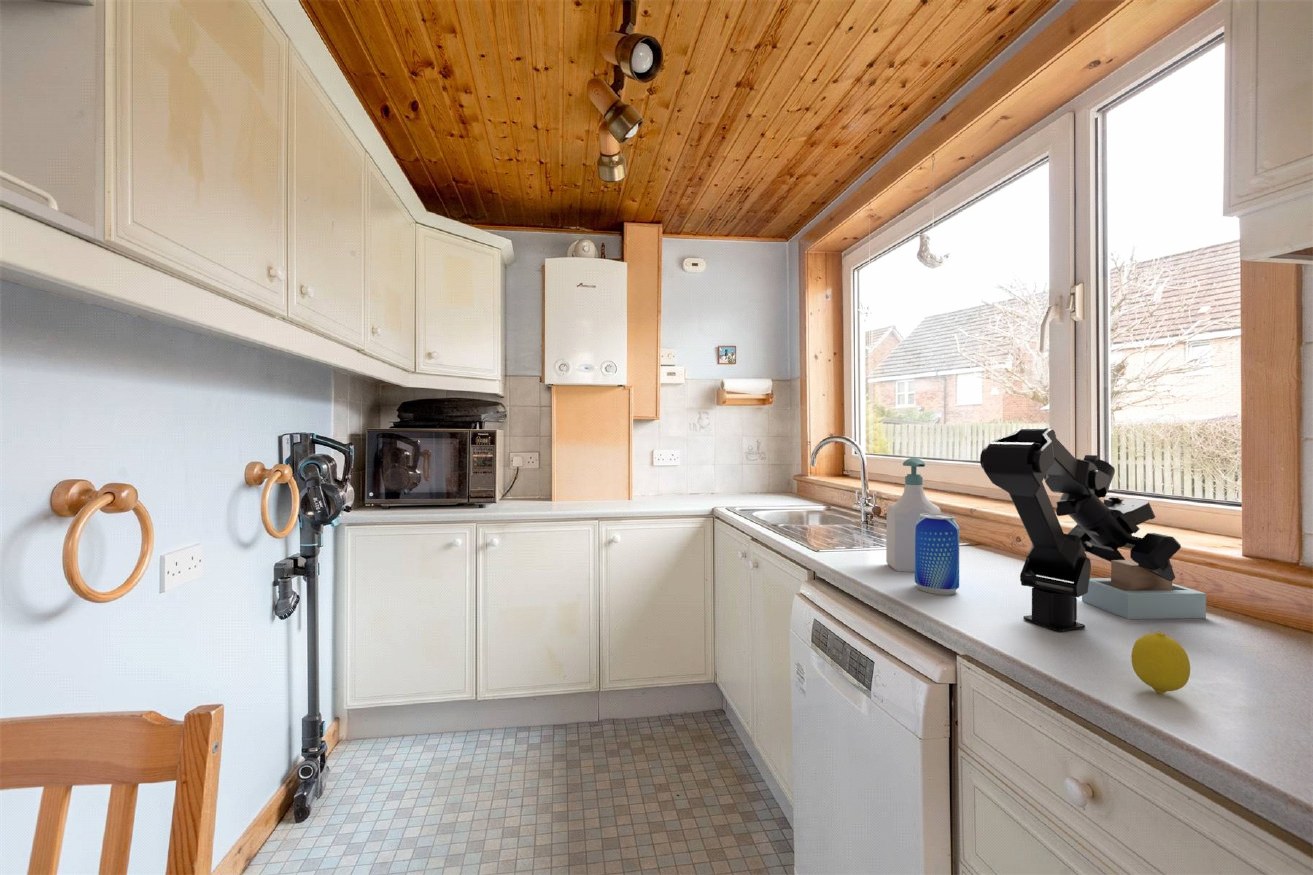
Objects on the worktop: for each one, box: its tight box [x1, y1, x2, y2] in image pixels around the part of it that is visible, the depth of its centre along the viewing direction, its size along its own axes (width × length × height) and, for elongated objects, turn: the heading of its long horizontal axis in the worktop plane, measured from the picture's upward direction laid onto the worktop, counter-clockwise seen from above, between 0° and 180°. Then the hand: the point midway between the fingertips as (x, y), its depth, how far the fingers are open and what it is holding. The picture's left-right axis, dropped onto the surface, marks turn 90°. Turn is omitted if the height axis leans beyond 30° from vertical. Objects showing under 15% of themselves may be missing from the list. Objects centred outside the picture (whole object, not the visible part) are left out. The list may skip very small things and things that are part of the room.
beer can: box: [914, 513, 960, 596], centre depth 112 cm, size 8×8×16 cm
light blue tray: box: [1081, 577, 1207, 620], centre depth 100 cm, size 14×10×4 cm
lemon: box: [1130, 631, 1191, 694], centre depth 68 cm, size 6×6×8 cm
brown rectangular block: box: [1110, 559, 1173, 591], centre depth 100 cm, size 8×4×9 cm, turn 91°
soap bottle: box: [885, 457, 942, 573], centre depth 129 cm, size 11×8×27 cm
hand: (1148, 572), depth 100 cm, fingers open, 9 cm apart
